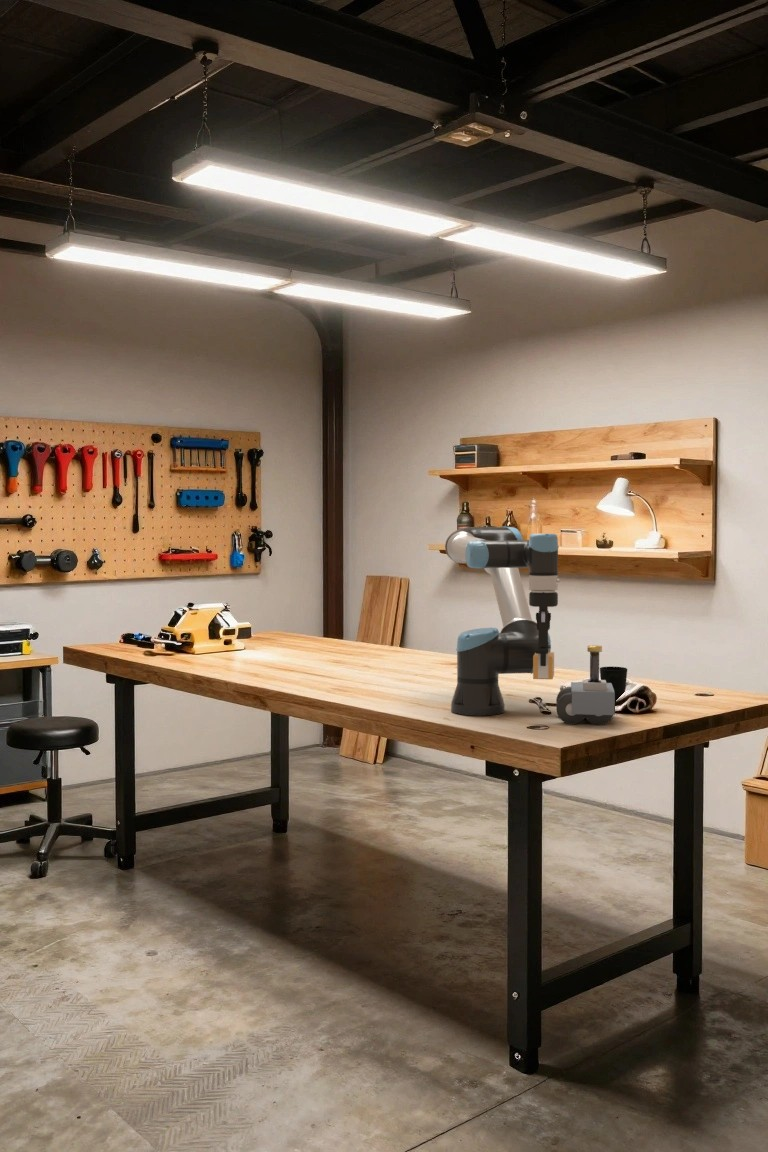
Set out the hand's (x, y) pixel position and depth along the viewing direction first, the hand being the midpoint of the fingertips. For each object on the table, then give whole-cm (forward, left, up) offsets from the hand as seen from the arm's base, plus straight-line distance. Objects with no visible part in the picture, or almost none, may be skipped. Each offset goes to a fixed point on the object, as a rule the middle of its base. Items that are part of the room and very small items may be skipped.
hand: (543, 675), depth 274 cm
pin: (+13, +2, -4) cm, 14 cm away
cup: (+19, +21, -13) cm, 31 cm away
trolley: (+11, +5, -13) cm, 18 cm away
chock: (0, 0, 0) cm, 0 cm away
